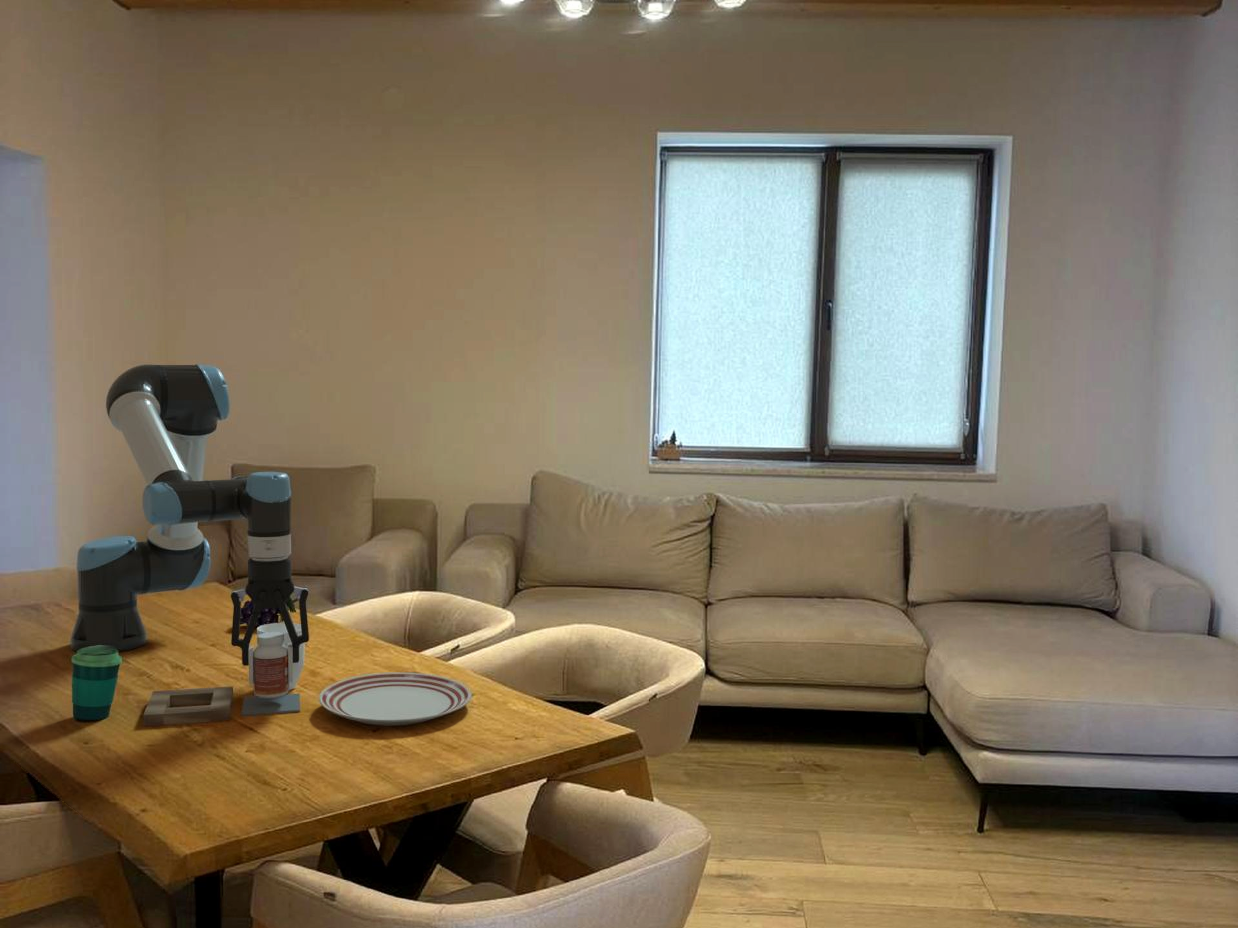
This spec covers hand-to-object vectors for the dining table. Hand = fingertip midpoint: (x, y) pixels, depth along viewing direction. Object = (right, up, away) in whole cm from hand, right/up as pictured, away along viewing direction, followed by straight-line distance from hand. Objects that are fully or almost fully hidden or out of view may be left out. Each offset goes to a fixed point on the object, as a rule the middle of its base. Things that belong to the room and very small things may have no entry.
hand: (271, 680), depth 203 cm
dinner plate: (+23, -6, 0) cm, 24 cm away
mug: (-3, -4, +12) cm, 13 cm away
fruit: (-19, +1, +59) cm, 62 cm away
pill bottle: (0, -3, 0) cm, 3 cm away
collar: (-14, -5, -4) cm, 15 cm away
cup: (-28, -5, -7) cm, 30 cm away
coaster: (0, -5, 0) cm, 5 cm away
